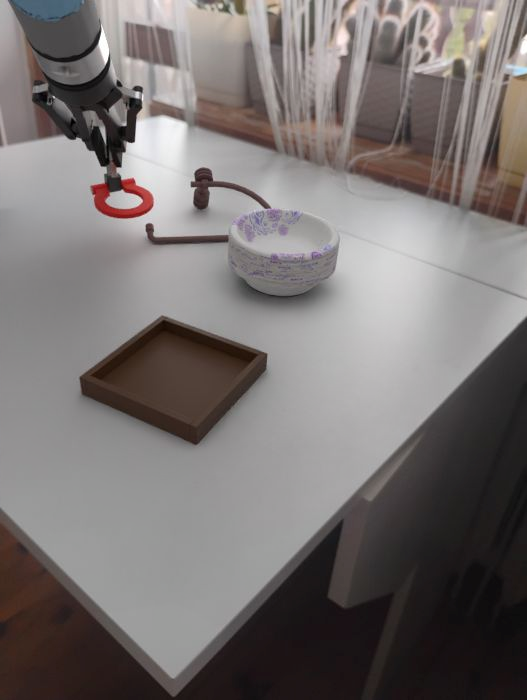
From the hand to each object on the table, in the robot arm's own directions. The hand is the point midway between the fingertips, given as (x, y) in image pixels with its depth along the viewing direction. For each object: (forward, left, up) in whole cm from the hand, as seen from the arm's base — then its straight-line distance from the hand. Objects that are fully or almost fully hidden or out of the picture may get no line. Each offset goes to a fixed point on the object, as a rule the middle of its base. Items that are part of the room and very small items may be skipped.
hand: (111, 158), depth 90 cm
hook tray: (+28, -24, -13) cm, 39 cm away
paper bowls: (+27, +3, -13) cm, 30 cm away
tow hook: (+3, -2, -6) cm, 7 cm away
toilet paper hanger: (+8, +14, -13) cm, 20 cm away
